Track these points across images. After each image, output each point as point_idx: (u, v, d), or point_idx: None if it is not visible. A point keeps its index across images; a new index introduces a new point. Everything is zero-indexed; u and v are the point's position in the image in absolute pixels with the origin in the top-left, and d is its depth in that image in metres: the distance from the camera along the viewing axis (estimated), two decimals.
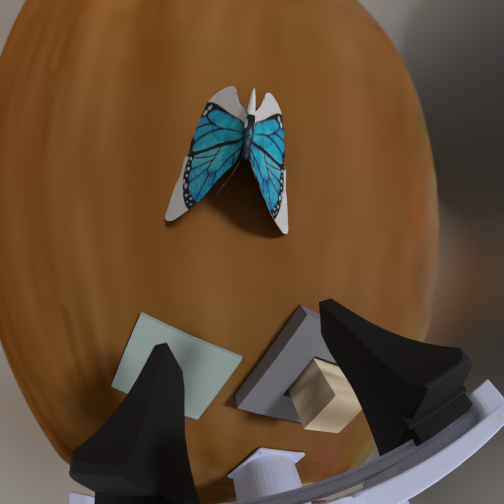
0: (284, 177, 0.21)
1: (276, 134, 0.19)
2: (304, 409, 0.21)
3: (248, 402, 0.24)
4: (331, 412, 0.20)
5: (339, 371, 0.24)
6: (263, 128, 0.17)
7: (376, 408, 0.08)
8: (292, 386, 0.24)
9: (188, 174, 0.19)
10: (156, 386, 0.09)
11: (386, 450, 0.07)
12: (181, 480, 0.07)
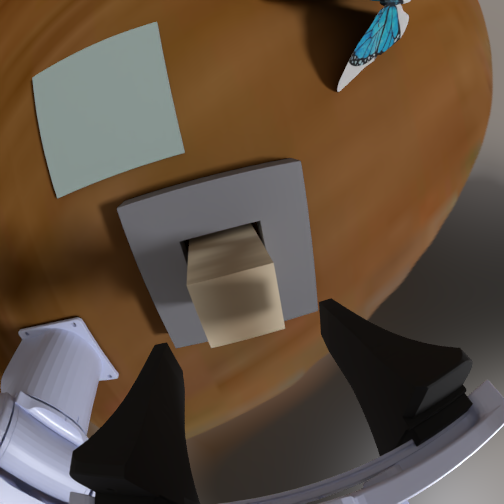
0: (370, 61, 0.16)
1: (391, 36, 0.14)
2: (202, 265, 0.15)
3: (136, 212, 0.16)
4: (240, 292, 0.14)
5: None
6: (394, 18, 0.12)
7: (376, 408, 0.08)
8: (199, 242, 0.18)
9: None
10: (156, 386, 0.09)
11: (386, 450, 0.07)
12: (181, 480, 0.07)
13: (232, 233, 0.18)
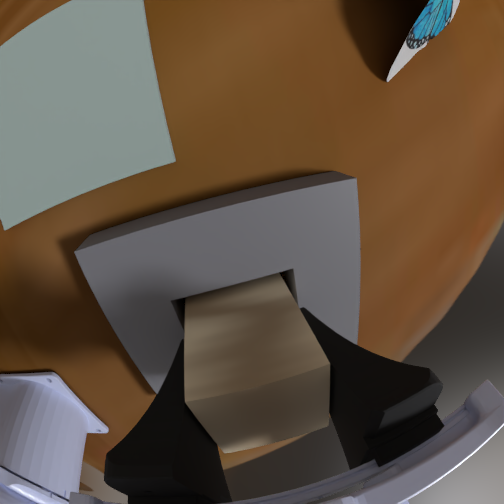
0: (423, 45, 0.10)
1: (444, 18, 0.08)
2: (208, 357, 0.09)
3: (102, 257, 0.10)
4: (271, 403, 0.08)
5: None
6: None
7: (342, 423, 0.08)
8: (200, 300, 0.12)
9: None
10: None
11: (354, 465, 0.07)
12: (216, 477, 0.07)
13: (250, 287, 0.12)
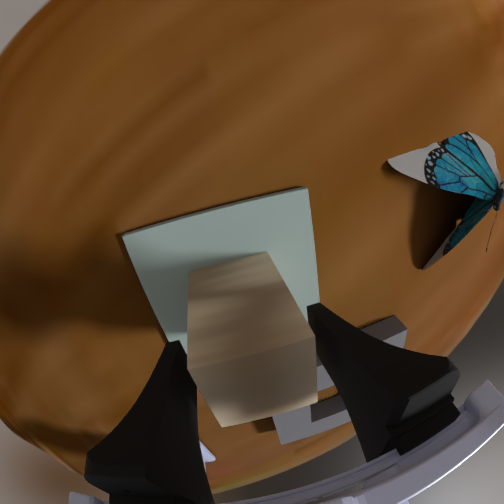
0: (454, 231, 0.18)
1: None
2: (208, 331, 0.10)
3: None
4: (264, 373, 0.09)
5: None
6: None
7: (361, 415, 0.08)
8: (202, 285, 0.13)
9: (435, 157, 0.14)
10: (171, 384, 0.09)
11: (372, 457, 0.07)
12: (197, 479, 0.07)
13: (247, 274, 0.13)
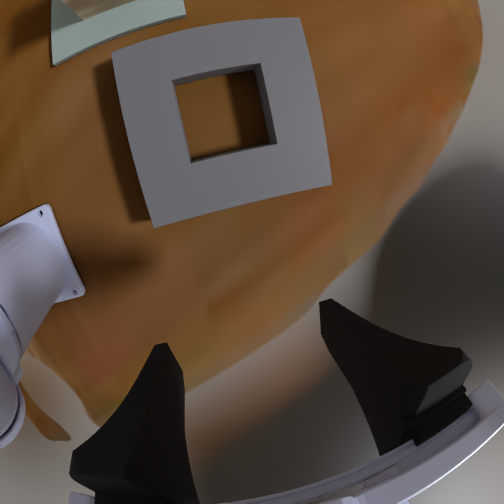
0: None
1: None
2: None
3: (130, 53, 0.12)
4: None
5: None
6: None
7: (376, 408, 0.08)
8: None
9: None
10: (156, 386, 0.09)
11: (386, 450, 0.07)
12: (181, 480, 0.07)
13: None
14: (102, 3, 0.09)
